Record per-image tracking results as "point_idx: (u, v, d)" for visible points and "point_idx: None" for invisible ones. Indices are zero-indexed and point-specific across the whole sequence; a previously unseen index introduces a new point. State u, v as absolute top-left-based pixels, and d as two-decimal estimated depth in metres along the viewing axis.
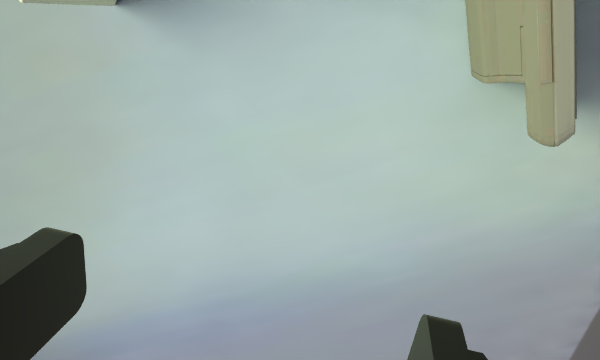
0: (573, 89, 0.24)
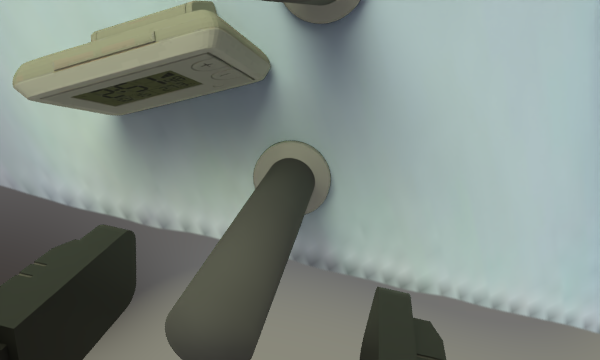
0: (54, 88, 0.28)
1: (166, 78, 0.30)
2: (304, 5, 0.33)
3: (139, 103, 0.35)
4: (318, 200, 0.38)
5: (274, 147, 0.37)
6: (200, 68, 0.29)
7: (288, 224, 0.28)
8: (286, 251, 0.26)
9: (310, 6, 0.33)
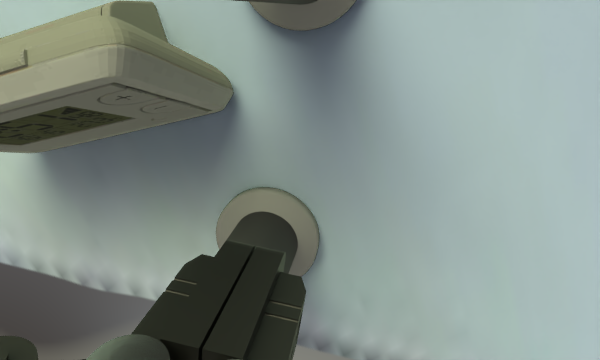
0: None
1: (71, 115, 0.21)
2: (278, 4, 0.23)
3: (54, 141, 0.26)
4: (302, 266, 0.29)
5: (242, 197, 0.28)
6: (115, 102, 0.19)
7: None
8: None
9: (286, 6, 0.23)
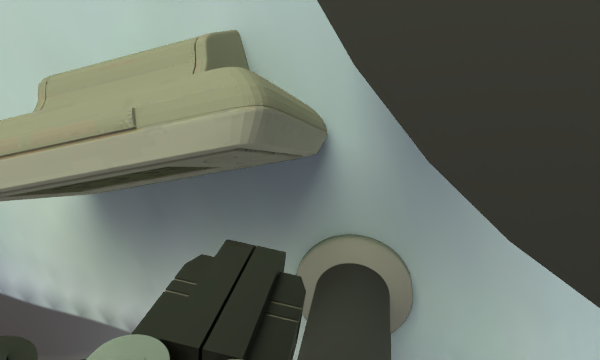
0: None
1: (159, 170, 0.18)
2: None
3: (118, 187, 0.22)
4: (392, 323, 0.25)
5: (329, 247, 0.24)
6: (220, 160, 0.16)
7: None
8: None
9: None
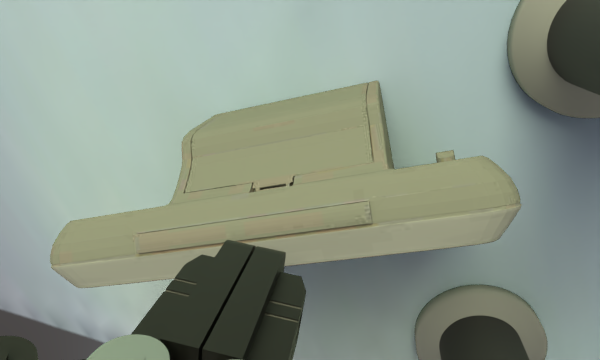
0: (134, 281, 0.14)
1: None
2: (561, 87, 0.18)
3: None
4: None
5: (460, 299, 0.23)
6: None
7: None
8: None
9: (572, 89, 0.18)
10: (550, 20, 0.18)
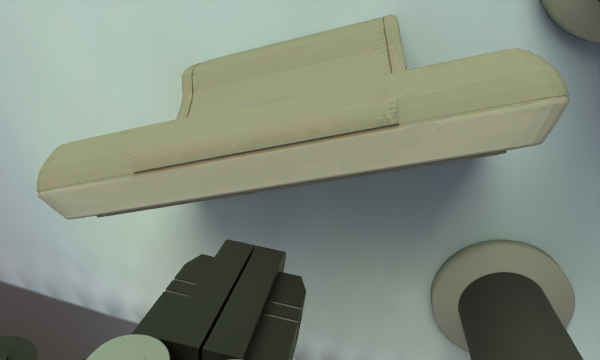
0: (129, 207, 0.13)
1: None
2: (595, 10, 0.17)
3: None
4: None
5: (481, 254, 0.22)
6: None
7: None
8: None
9: None
10: None
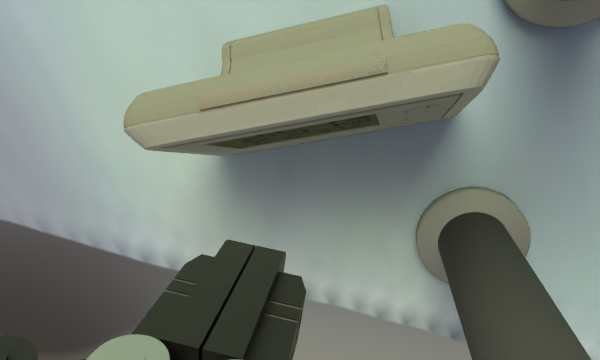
0: (194, 137, 0.18)
1: (348, 121, 0.20)
2: (539, 0, 0.22)
3: (273, 145, 0.25)
4: None
5: (455, 198, 0.27)
6: (414, 110, 0.19)
7: (580, 344, 0.18)
8: None
9: (549, 1, 0.22)
10: None
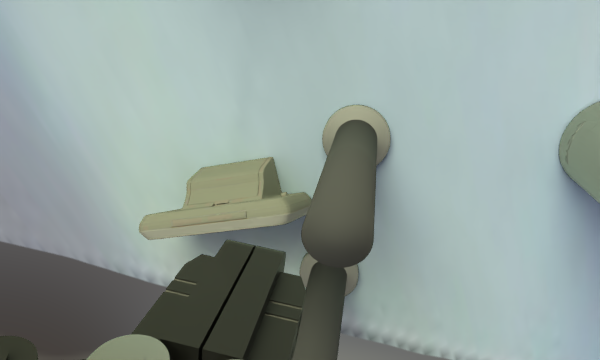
0: (170, 237, 0.41)
1: None
2: None
3: None
4: (349, 288, 0.51)
5: None
6: None
7: (335, 330, 0.40)
8: (336, 354, 0.39)
9: None
10: (334, 134, 0.44)
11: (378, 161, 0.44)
